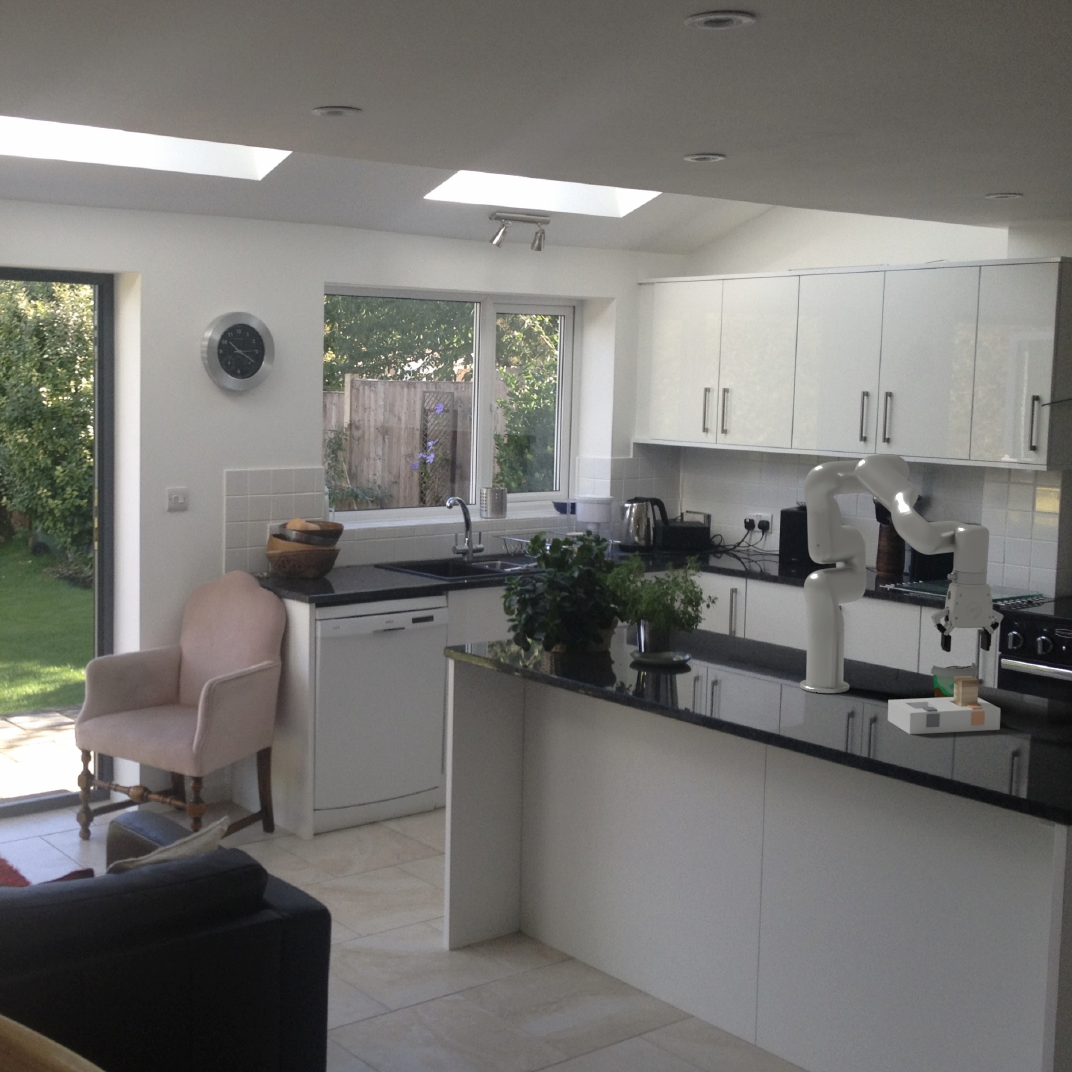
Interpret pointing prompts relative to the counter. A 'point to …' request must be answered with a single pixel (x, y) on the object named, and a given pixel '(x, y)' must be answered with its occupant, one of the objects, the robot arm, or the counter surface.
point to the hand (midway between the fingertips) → (965, 650)
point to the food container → (950, 678)
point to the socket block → (942, 715)
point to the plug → (965, 690)
